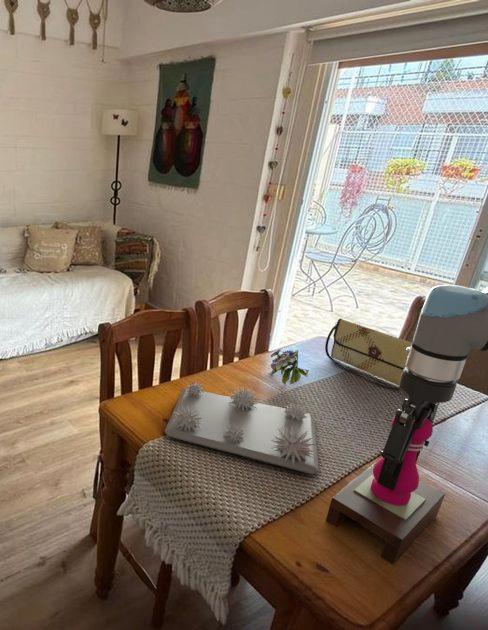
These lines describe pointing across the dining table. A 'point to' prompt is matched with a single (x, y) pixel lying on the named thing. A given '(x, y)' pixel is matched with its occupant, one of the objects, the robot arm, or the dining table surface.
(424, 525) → the shelf
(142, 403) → the dining table surface
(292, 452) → the decorative tray
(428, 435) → the pepper mill
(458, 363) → the robot arm
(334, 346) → the clutch purse
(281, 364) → the passion flower
